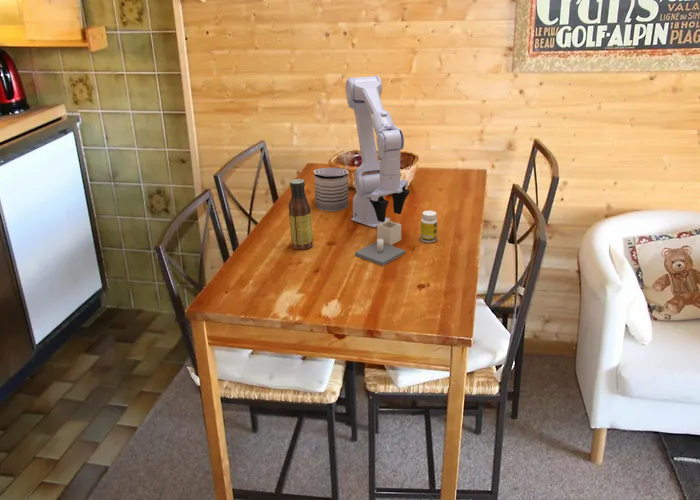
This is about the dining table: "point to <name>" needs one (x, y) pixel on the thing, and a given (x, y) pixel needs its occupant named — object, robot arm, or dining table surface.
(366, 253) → the base plate
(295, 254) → the dining table surface
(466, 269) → the dining table surface
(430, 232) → the supplement bottle
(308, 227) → the sauce bottle
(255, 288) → the dining table surface
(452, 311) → the dining table surface
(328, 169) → the can
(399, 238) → the box
